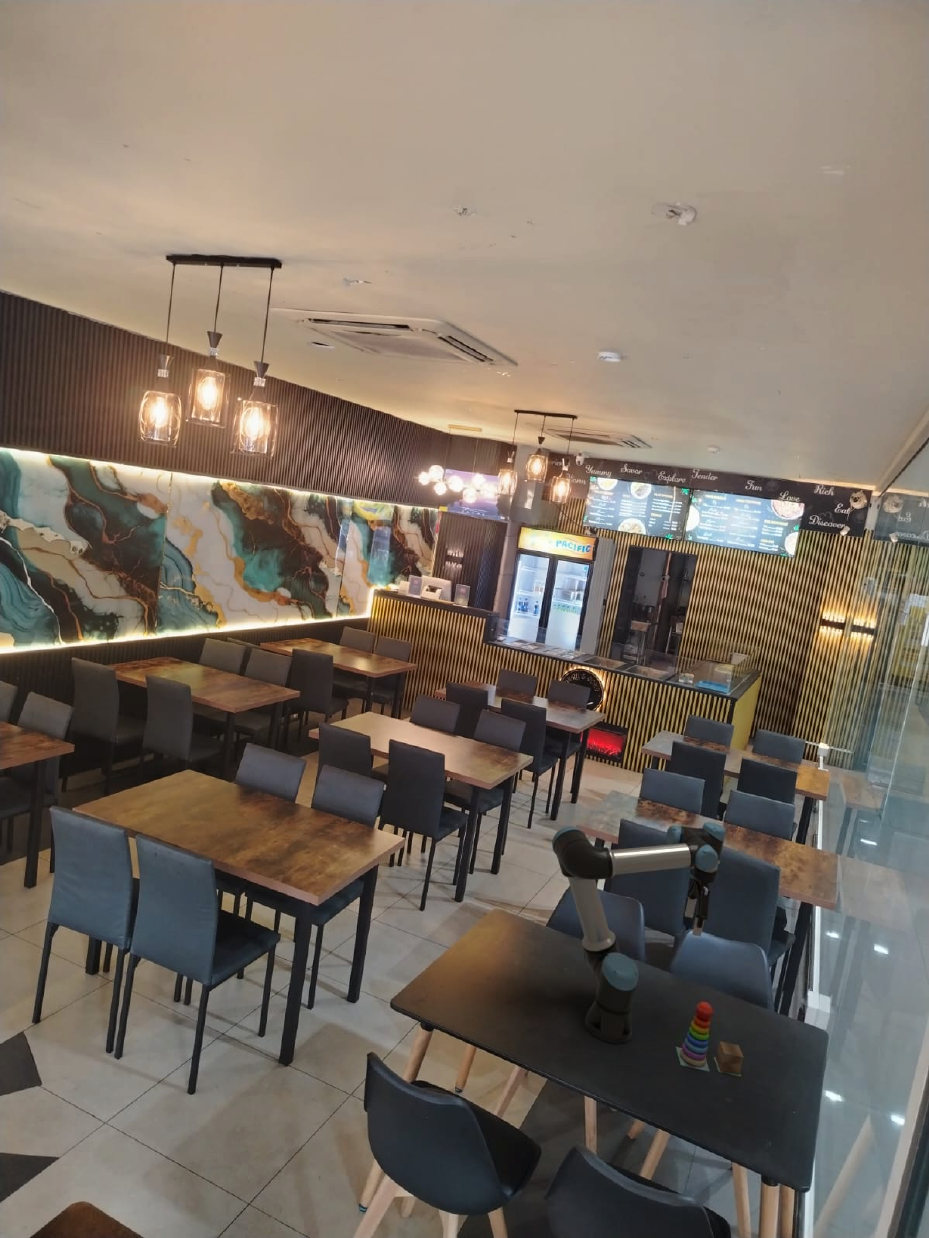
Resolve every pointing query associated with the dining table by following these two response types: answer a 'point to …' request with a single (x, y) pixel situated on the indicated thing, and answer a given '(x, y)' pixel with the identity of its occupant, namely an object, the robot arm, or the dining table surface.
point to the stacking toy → (698, 1036)
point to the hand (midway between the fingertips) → (692, 925)
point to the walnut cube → (729, 1058)
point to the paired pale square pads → (703, 1067)
